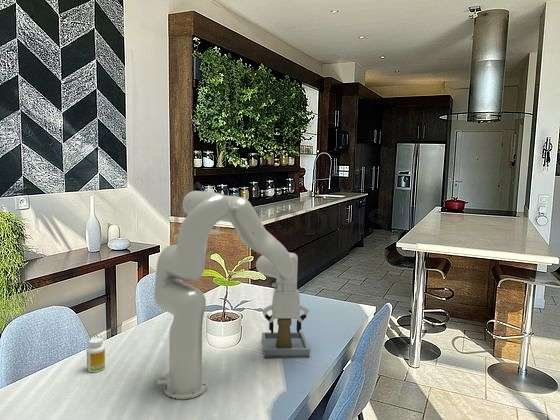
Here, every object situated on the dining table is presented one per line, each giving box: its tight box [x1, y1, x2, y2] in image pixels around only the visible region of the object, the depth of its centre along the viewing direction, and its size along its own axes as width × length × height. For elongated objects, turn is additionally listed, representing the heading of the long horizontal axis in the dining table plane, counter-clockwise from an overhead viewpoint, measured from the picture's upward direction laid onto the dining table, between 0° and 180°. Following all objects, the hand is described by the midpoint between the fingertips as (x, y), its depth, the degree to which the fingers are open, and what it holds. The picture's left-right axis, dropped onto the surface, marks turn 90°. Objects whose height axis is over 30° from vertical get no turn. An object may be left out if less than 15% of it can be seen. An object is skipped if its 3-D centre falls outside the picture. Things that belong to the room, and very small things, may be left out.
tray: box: [261, 331, 311, 359], centre depth 164 cm, size 16×16×3 cm
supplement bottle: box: [86, 337, 106, 373], centre depth 143 cm, size 5×5×10 cm
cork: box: [276, 319, 292, 349], centre depth 163 cm, size 6×6×11 cm
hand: (285, 331), depth 164 cm, fingers open, 9 cm apart
